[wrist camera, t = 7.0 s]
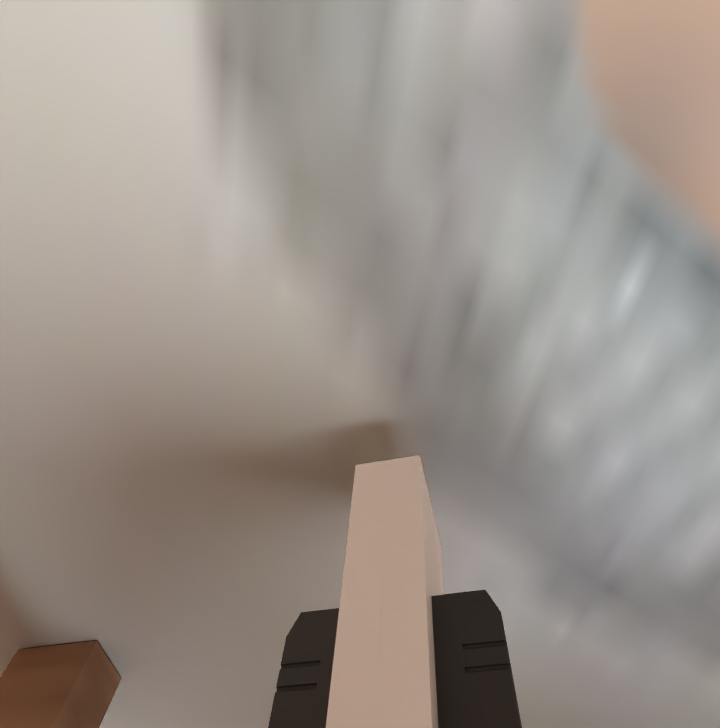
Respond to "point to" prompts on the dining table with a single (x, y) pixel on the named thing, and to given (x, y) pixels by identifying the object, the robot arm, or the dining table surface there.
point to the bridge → (57, 687)
